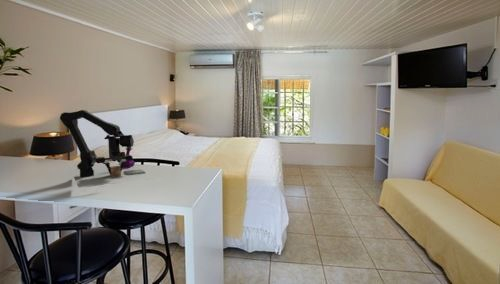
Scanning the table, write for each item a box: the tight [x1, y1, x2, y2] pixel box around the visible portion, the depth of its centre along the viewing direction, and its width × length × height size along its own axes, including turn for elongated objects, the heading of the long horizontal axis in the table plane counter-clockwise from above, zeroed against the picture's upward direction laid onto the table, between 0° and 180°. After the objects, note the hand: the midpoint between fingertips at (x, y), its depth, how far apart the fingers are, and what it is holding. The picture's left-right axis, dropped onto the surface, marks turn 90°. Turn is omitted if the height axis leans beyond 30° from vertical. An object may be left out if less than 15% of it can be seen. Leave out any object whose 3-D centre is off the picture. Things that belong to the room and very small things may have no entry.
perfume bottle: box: [118, 147, 136, 169], centre depth 193 cm, size 8×8×18 cm
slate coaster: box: [123, 169, 146, 176], centre depth 178 cm, size 10×10×1 cm
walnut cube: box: [109, 165, 122, 178], centre depth 170 cm, size 5×5×5 cm
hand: (115, 173), depth 170 cm, fingers closed on walnut cube, 5 cm apart
